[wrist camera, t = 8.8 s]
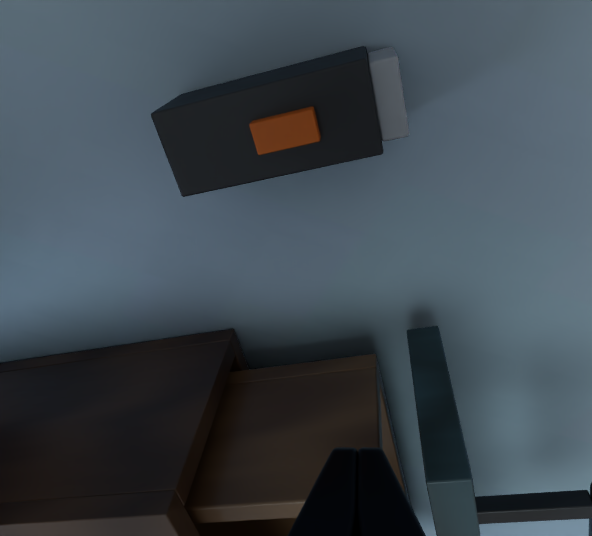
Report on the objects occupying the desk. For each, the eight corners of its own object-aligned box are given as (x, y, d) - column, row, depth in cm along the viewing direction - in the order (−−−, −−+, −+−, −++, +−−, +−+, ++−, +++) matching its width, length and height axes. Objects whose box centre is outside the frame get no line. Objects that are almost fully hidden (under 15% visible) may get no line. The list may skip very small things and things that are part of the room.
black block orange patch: (206, 168, 18) (177, 202, 15) (179, 94, 17) (143, 117, 14) (405, 123, 16) (413, 152, 14) (392, 38, 15) (399, 51, 12)
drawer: (579, 305, 18) (685, 464, 12) (577, 534, 24) (646, 714, 18) (101, 370, 22) (7, 511, 16) (203, 551, 28) (162, 701, 22)
